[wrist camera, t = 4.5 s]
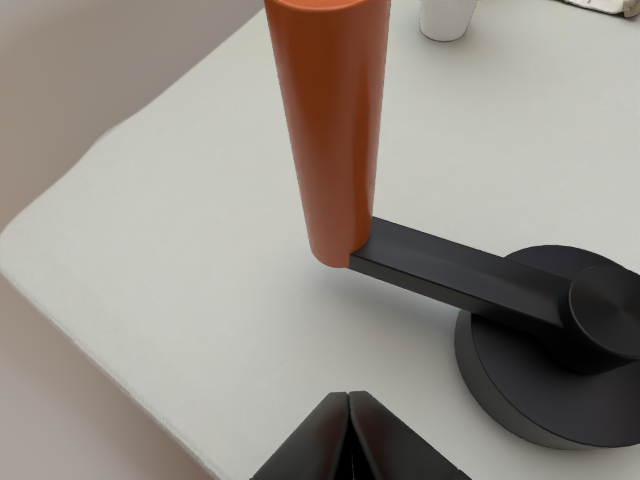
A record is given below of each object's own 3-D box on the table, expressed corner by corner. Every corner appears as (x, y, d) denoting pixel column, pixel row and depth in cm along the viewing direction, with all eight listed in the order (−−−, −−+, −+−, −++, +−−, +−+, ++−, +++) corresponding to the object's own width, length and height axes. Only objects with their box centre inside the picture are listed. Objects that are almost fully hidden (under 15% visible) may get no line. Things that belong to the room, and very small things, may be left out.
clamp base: (683, 414, 17) (744, 405, 14) (508, 477, 16) (539, 480, 14) (571, 253, 21) (603, 223, 18) (426, 299, 20) (437, 275, 17)
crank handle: (627, 309, 16) (1132, 33, 6) (621, 388, 14) (1270, 213, 4) (327, 211, 19) (299, -78, 9) (299, 269, 18) (227, 5, 7)
